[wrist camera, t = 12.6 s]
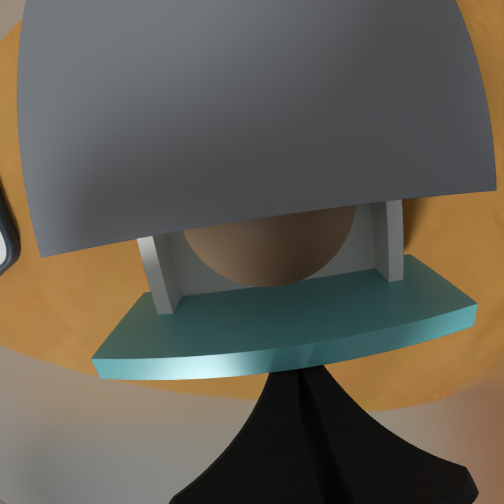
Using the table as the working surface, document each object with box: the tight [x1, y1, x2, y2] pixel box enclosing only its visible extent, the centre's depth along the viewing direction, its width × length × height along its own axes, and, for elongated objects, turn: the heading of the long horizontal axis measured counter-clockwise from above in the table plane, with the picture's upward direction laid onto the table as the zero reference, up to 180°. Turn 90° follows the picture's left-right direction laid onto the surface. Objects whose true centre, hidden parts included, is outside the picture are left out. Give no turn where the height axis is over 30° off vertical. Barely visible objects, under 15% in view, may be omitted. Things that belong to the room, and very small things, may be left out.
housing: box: [17, 0, 496, 258], centre depth 7 cm, size 12×12×6 cm
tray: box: [91, 200, 478, 380], centre depth 9 cm, size 12×12×5 cm
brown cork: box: [183, 205, 356, 287], centre depth 9 cm, size 4×4×4 cm
